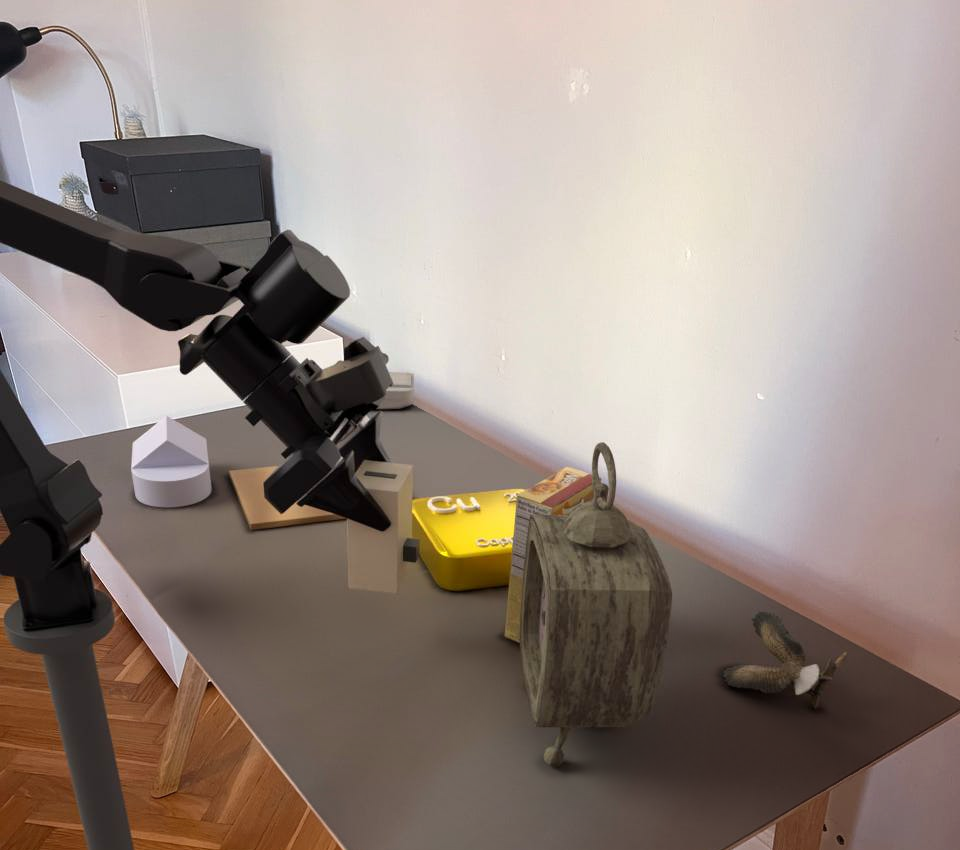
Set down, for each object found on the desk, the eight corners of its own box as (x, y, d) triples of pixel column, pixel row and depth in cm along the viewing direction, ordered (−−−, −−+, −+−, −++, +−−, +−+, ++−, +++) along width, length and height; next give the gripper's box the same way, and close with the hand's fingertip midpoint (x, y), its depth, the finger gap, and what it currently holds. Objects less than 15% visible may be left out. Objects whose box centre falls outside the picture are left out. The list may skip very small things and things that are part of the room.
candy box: (550, 602, 98) (564, 464, 90) (585, 616, 96) (603, 476, 88) (502, 638, 92) (513, 493, 84) (539, 653, 90) (554, 507, 82)
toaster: (348, 588, 85) (346, 485, 80) (365, 557, 90) (364, 458, 85) (410, 596, 84) (412, 492, 79) (423, 564, 89) (426, 465, 84)
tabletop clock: (514, 675, 86) (536, 412, 73) (611, 675, 87) (650, 415, 74) (533, 781, 74) (564, 489, 61) (646, 779, 75) (700, 491, 62)
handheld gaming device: (413, 369, 150) (413, 393, 152) (320, 367, 149) (321, 391, 151) (413, 386, 143) (413, 411, 144) (315, 384, 141) (316, 409, 143)
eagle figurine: (839, 669, 88) (751, 623, 91) (857, 639, 81) (762, 590, 84) (800, 735, 86) (712, 686, 89) (815, 709, 79) (719, 657, 82)
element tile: (441, 595, 98) (443, 554, 96) (404, 531, 110) (404, 494, 107) (573, 578, 103) (578, 538, 100) (524, 519, 114) (526, 482, 112)
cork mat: (250, 530, 108) (250, 524, 108) (229, 476, 121) (228, 470, 120) (416, 510, 115) (416, 504, 115) (379, 461, 128) (379, 455, 127)
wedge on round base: (136, 467, 122) (134, 509, 111) (128, 417, 118) (125, 456, 108) (208, 463, 124) (213, 504, 114) (203, 413, 121) (207, 451, 110)
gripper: (294, 346, 67) (441, 504, 72) (361, 289, 83) (478, 422, 88) (200, 439, 72) (343, 581, 77) (280, 369, 88) (395, 490, 93)
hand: (395, 512), depth 84 cm, fingers closed on toaster, 6 cm apart
